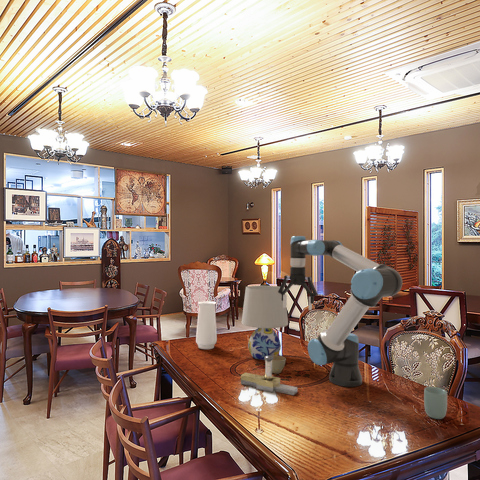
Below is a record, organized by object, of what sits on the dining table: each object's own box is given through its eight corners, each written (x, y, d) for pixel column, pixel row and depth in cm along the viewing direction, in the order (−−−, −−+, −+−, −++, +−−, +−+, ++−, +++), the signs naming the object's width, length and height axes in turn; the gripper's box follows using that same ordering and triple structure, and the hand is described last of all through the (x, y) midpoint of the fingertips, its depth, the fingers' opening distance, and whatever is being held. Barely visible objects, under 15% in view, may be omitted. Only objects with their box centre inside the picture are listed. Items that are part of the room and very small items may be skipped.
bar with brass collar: (298, 390, 170) (298, 381, 170) (292, 396, 163) (292, 387, 163) (247, 379, 182) (247, 371, 182) (238, 385, 175) (239, 376, 175)
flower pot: (284, 376, 189) (285, 361, 189) (264, 374, 191) (265, 360, 191) (286, 369, 198) (286, 355, 199) (267, 368, 200) (267, 354, 201)
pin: (274, 387, 173) (274, 356, 173) (270, 390, 170) (271, 358, 170) (266, 385, 175) (266, 354, 175) (262, 388, 172) (262, 357, 172)
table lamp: (286, 365, 206) (287, 290, 207) (237, 361, 211) (238, 289, 212) (288, 351, 233) (289, 286, 234) (244, 349, 238) (245, 284, 238)
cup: (426, 410, 150) (427, 385, 151) (449, 416, 146) (449, 390, 146) (421, 417, 144) (421, 390, 145) (444, 423, 140) (444, 396, 140)
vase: (194, 345, 245) (194, 301, 245) (213, 344, 249) (214, 300, 249) (198, 350, 232) (198, 304, 233) (218, 349, 236) (219, 303, 237)
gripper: (324, 267, 191) (323, 309, 190) (278, 265, 203) (277, 305, 202) (319, 267, 184) (319, 312, 184) (272, 265, 196) (271, 307, 196)
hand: (297, 308), depth 193 cm, fingers open, 13 cm apart
